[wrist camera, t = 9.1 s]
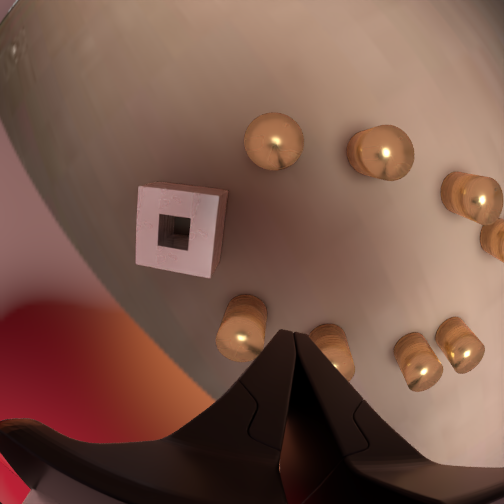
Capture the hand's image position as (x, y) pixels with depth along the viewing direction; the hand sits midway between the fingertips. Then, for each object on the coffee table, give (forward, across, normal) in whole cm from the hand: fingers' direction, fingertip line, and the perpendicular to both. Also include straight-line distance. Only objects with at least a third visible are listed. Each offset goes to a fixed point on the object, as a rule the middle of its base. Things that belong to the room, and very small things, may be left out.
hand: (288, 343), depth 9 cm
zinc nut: (+12, +7, 0) cm, 14 cm away
